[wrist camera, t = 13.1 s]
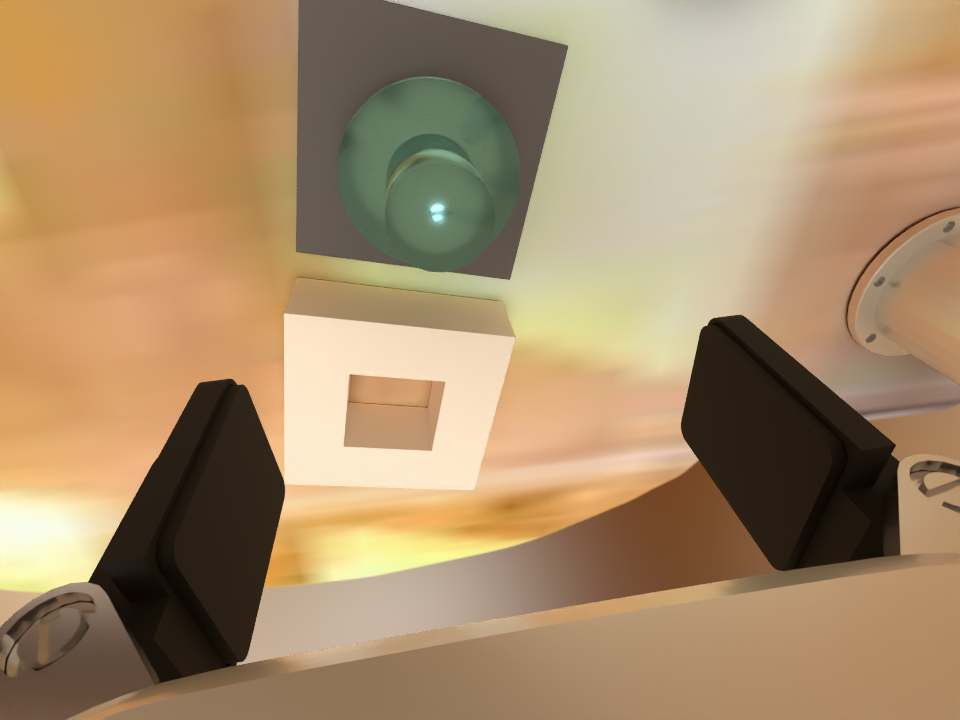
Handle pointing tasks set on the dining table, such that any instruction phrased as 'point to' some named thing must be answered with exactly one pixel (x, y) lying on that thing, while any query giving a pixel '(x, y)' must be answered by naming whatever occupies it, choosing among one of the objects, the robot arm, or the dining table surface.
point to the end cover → (428, 172)
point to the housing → (398, 354)
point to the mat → (395, 56)
